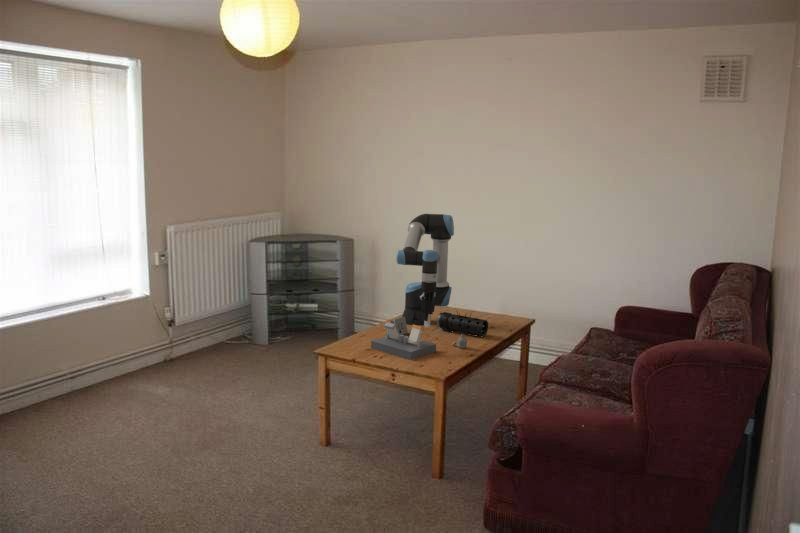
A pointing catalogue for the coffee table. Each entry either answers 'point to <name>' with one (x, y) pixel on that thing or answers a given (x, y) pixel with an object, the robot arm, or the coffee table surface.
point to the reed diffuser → (462, 340)
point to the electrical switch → (400, 325)
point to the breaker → (392, 331)
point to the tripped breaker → (415, 334)
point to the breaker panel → (403, 347)
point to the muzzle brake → (462, 324)
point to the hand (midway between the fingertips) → (427, 326)
